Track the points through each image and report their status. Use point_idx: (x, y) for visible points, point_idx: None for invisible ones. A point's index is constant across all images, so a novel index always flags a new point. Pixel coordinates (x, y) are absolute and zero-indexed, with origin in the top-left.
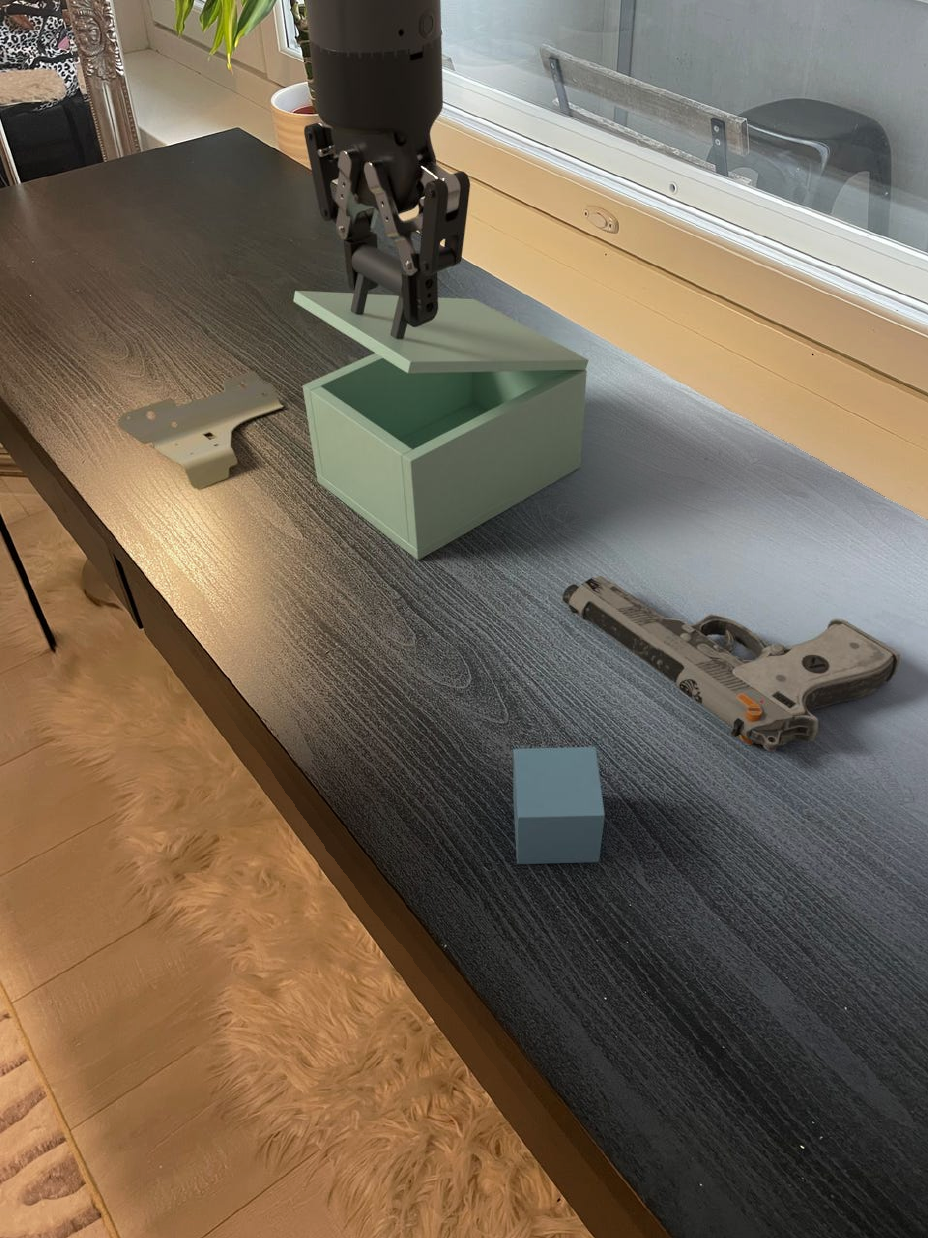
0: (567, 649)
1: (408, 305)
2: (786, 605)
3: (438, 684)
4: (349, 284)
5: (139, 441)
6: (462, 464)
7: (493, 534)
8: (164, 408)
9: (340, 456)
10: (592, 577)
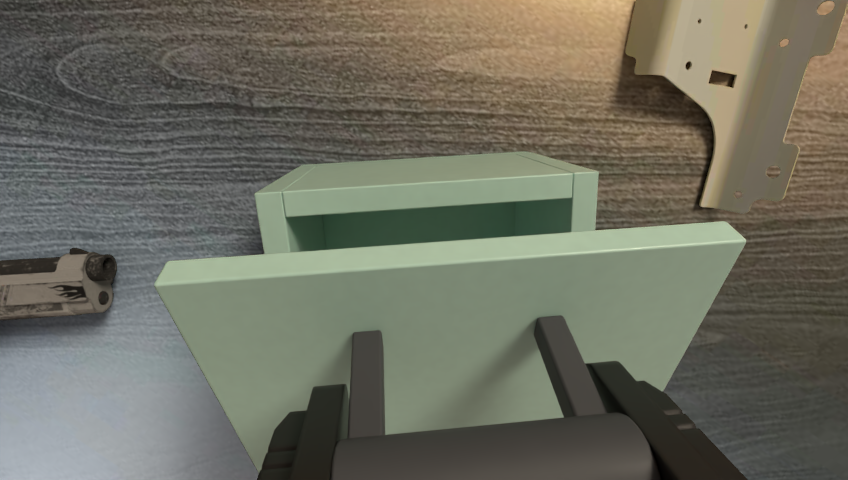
0: (56, 212)
1: (307, 427)
2: (4, 437)
3: (77, 45)
4: (618, 367)
5: None
6: None
7: None
8: (820, 34)
9: (473, 164)
10: (86, 299)
